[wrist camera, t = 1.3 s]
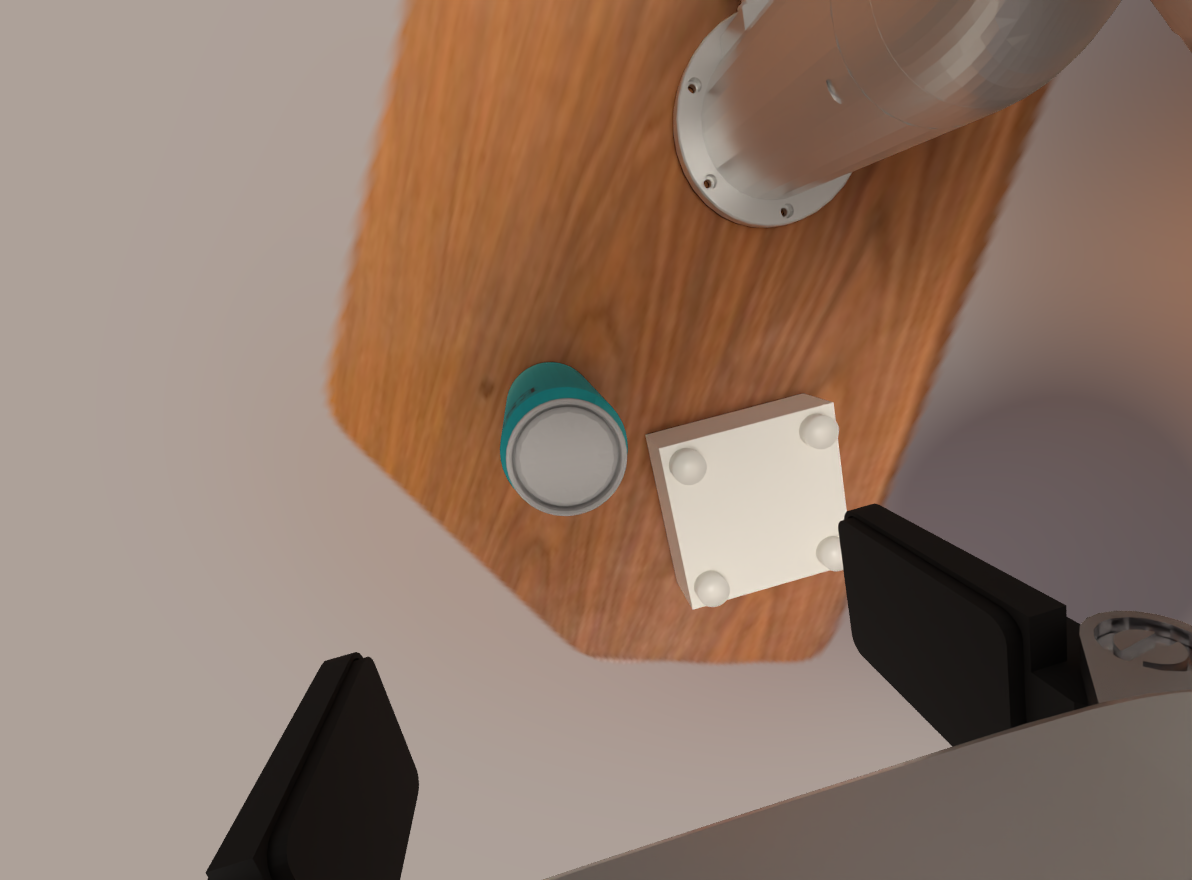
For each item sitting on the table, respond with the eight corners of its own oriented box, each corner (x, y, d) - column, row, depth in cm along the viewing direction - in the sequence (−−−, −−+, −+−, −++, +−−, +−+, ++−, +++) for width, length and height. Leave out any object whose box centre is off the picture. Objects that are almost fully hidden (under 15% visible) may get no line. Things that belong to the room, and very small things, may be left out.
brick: (645, 434, 39) (662, 452, 34) (803, 393, 40) (841, 404, 35) (677, 582, 42) (697, 617, 37) (823, 540, 43) (861, 569, 38)
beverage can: (492, 419, 37) (474, 487, 23) (531, 344, 37) (539, 366, 22) (566, 456, 39) (593, 543, 24) (605, 384, 38) (658, 431, 23)
